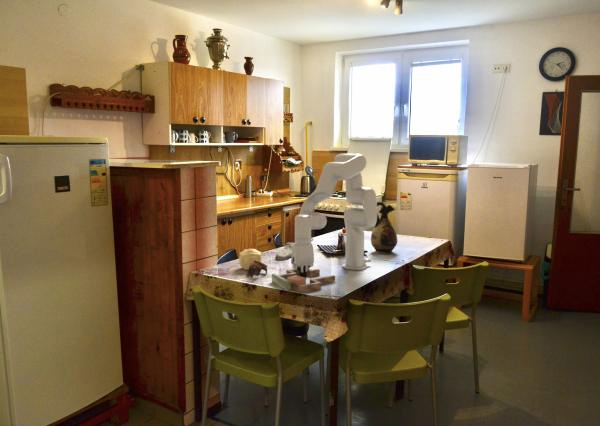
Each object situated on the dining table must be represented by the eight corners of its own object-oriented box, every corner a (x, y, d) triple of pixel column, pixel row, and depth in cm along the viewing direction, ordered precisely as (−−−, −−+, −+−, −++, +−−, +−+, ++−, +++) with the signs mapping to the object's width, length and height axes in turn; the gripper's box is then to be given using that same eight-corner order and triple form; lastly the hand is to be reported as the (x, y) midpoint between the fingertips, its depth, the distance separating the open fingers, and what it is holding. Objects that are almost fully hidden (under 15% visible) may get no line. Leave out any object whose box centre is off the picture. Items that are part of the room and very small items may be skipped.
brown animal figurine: (244, 274, 246) (251, 259, 248) (261, 282, 247) (268, 266, 249) (247, 274, 234) (254, 258, 236) (265, 282, 236) (272, 266, 237)
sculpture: (240, 272, 248) (239, 251, 246) (238, 266, 259) (238, 246, 258) (262, 271, 250) (262, 250, 248) (260, 265, 261) (259, 245, 260)
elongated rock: (270, 262, 274) (287, 264, 271) (271, 253, 273) (287, 255, 270) (291, 246, 307) (306, 248, 304) (291, 238, 306) (307, 239, 303)
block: (296, 283, 229) (296, 275, 228) (305, 286, 225) (305, 277, 224) (287, 286, 224) (287, 277, 224) (296, 289, 220) (296, 280, 220)
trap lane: (311, 272, 248) (311, 264, 247) (342, 285, 225) (342, 276, 224) (266, 279, 235) (266, 271, 235) (293, 294, 212) (293, 285, 212)
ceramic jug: (395, 249, 298) (396, 200, 294) (398, 255, 283) (399, 203, 279) (367, 249, 300) (368, 200, 295) (368, 255, 285) (369, 203, 280)
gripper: (312, 238, 234) (312, 275, 237) (284, 241, 227) (285, 280, 229) (321, 241, 228) (320, 279, 230) (292, 244, 220) (292, 284, 223)
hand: (303, 279), depth 230 cm, fingers closed
